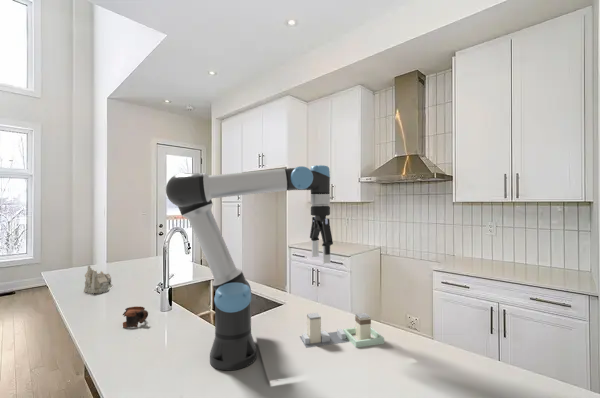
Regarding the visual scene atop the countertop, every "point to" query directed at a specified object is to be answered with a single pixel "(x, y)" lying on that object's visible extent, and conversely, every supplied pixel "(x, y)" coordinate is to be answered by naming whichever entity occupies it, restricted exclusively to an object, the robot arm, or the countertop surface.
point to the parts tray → (366, 342)
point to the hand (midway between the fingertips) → (320, 259)
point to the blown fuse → (363, 326)
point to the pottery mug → (134, 316)
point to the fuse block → (325, 338)
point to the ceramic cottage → (97, 281)
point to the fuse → (314, 327)
